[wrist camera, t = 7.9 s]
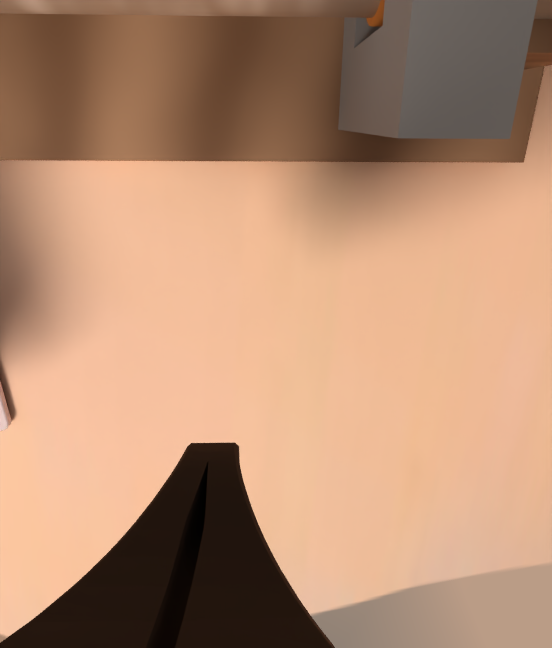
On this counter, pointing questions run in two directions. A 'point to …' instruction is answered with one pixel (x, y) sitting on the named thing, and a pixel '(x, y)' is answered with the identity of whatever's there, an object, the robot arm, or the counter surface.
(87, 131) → the pipe stand
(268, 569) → the robot arm
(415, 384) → the counter surface
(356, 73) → the collar
